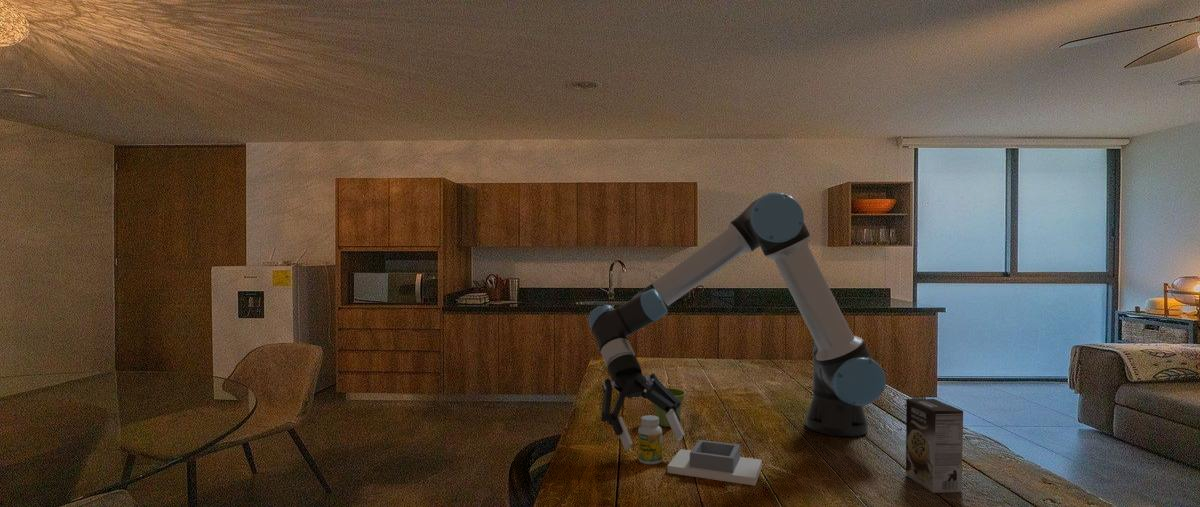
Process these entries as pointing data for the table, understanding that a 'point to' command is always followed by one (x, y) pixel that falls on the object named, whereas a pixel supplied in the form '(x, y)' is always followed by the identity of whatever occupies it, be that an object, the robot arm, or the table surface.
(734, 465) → the white base grey socket
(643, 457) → the supplement bottle
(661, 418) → the plant pot
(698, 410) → the table surface
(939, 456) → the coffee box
